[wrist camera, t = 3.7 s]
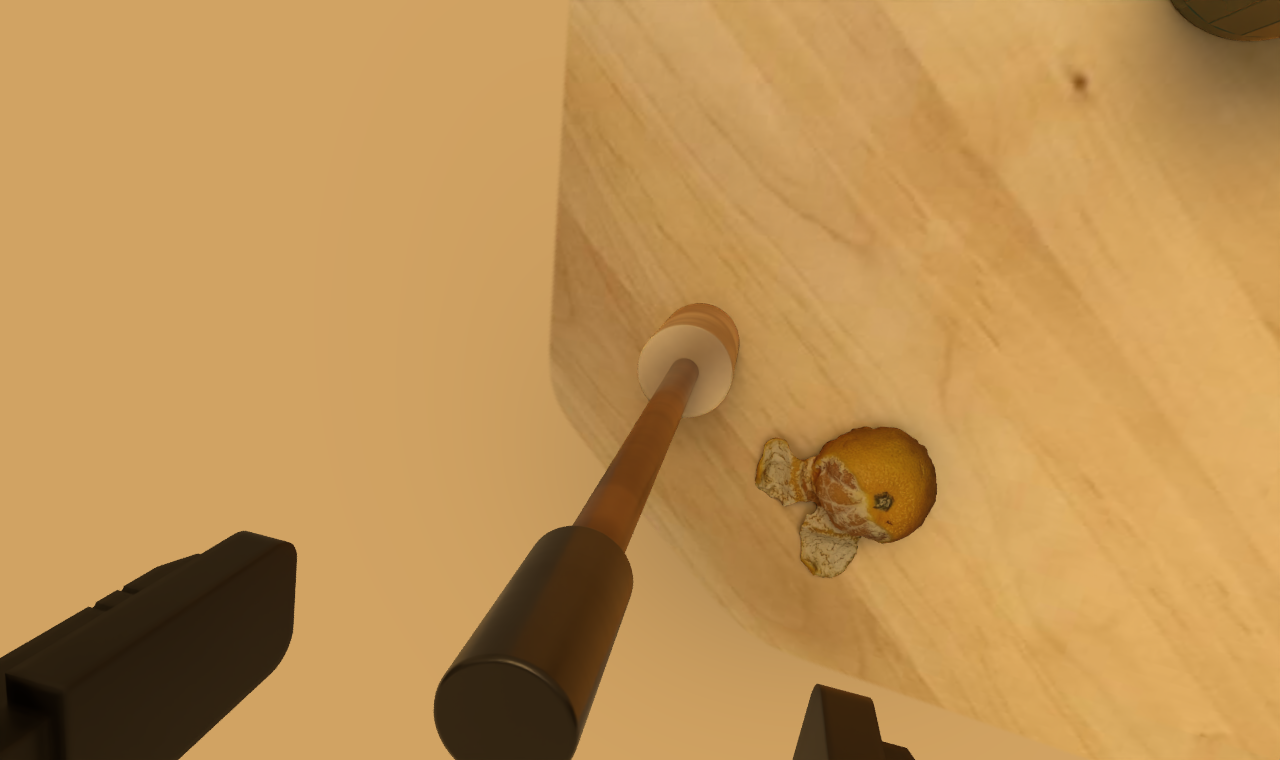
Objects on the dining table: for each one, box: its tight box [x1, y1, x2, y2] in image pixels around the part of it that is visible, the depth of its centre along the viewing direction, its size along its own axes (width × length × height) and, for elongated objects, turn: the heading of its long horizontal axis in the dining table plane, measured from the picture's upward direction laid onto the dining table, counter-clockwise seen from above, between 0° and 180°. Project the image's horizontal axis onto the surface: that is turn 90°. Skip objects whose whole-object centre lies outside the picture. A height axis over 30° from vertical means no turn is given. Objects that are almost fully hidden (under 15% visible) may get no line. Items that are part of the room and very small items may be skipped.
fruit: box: [755, 427, 937, 578], centre depth 35 cm, size 8×8×4 cm
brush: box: [434, 303, 739, 760], centre depth 23 cm, size 4×4×28 cm
